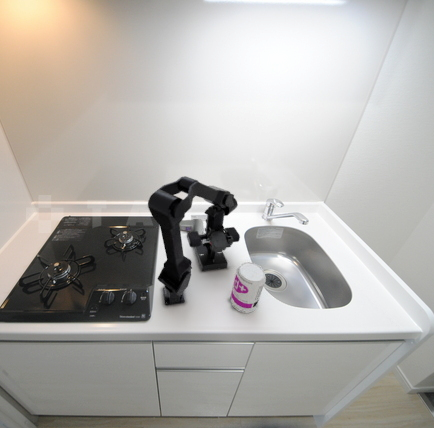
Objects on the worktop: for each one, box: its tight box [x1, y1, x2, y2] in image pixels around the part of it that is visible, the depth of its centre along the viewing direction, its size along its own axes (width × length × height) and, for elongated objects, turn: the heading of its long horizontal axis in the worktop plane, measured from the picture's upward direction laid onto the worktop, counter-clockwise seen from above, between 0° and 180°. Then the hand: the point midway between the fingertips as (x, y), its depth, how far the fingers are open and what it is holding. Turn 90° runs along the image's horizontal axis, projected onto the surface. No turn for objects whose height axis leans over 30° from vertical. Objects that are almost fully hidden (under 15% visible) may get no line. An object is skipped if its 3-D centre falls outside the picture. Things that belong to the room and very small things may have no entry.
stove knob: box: [209, 243, 215, 258], centre depth 81 cm, size 5×2×4 cm, turn 9°
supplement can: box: [229, 261, 267, 314], centre depth 64 cm, size 8×8×15 cm
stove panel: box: [193, 242, 229, 272], centre depth 85 cm, size 15×10×3 cm, turn 9°
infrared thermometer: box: [180, 218, 204, 235], centre depth 97 cm, size 5×12×15 cm
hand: (210, 253), depth 82 cm, fingers closed on stove knob, 2 cm apart
